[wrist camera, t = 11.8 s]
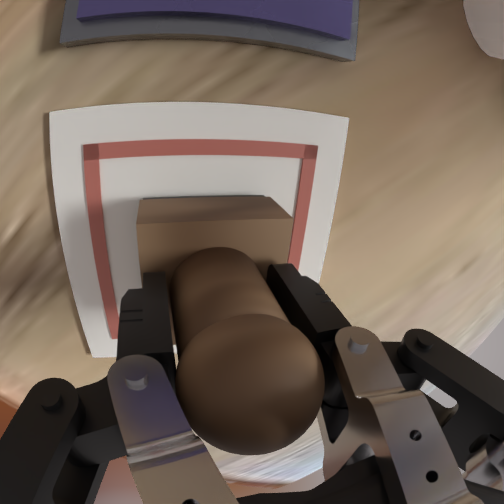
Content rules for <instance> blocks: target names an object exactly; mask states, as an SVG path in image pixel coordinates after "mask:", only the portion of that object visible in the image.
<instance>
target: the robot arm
mask: <svg viewBox="0 0 504 504" xmlns="http://www.w3.org/2000/svg"><path fill="white" fill-rule="evenodd" d="M266 283H267V285H268V286H269V288H270V290H271V291H272V293H273V295H274V296H275V298H276V300H277V301H278V303H279V305H280V307H281V308H282V310H283V312H284V313H285V315H286V317H287V318H288V320H289V322H290V323H291V325H293V326H294V327H296V328H297V329H299V330H300V331H301V332H302V333H303V334H304V335H305V336H306V337H307V338H308V339H309V341H310V342H311V343H312V345H313V346H314V348H315V349H316V351H317V353H318V355H319V358H320V360H321V363H322V367H323V371H324V379H325V390H324V396H323V401H322V404H321V407H320V410H319V412H318V415H317V419H318V423H319V427H320V431H321V436H322V440H323V444H324V459H323V474H324V479H325V482H323V483H322V484H320V485H318V486H317V487H315V488H314V489H312V490H309V491H302V492H288V493H259V494H255V495H250V496H245V497H241V498H235V496H234V495H233V493H232V491H231V490H230V488H229V487H228V485H227V483H226V481H225V480H224V478H223V476H222V475H221V473H220V471H219V469H218V468H217V466H216V464H215V462H214V461H213V459H212V457H211V455H210V453H209V452H208V450H207V448H206V446H205V445H204V443H203V442H202V440H201V439H200V438H199V437H198V436H195V434H194V433H193V431H192V429H191V427H190V425H189V423H188V421H187V419H186V417H185V415H184V413H183V411H182V409H181V407H180V404H179V402H178V400H177V397H176V391H175V377H176V364H175V356H174V348H173V340H172V333H171V324H170V315H169V306H168V296H167V286H166V274H165V271H163V272H146V273H143V288H139V289H128V290H127V292H126V293H125V294H124V296H123V297H122V299H121V304H120V314H119V326H118V340H117V357H116V362H115V363H114V364H113V365H112V366H111V368H110V369H109V372H108V375H107V376H106V377H105V378H103V379H102V380H100V381H98V382H96V383H93V384H90V385H86V386H83V387H80V388H76V389H75V387H74V386H73V385H72V384H71V383H69V382H68V381H66V380H64V379H61V378H48V379H45V380H42V381H40V382H38V383H37V384H35V385H34V386H33V387H32V389H31V390H30V391H29V393H28V394H27V396H26V397H25V399H24V401H23V402H22V404H21V405H20V407H19V409H18V410H17V412H16V414H15V415H14V417H13V419H12V420H11V422H10V424H9V425H8V427H7V429H6V431H5V432H4V434H3V436H2V437H1V439H0V504H93V503H94V501H95V498H96V495H97V493H98V490H99V487H100V484H101V482H102V479H103V476H104V474H105V471H106V469H107V466H108V463H109V461H110V460H113V459H116V458H119V457H122V456H125V455H127V461H128V464H129V468H130V471H131V473H132V476H133V479H134V481H135V484H136V487H137V489H138V492H139V494H140V497H141V499H142V501H143V504H504V380H502V379H501V378H499V377H498V376H496V375H495V374H493V373H492V372H490V371H489V370H488V369H486V368H484V367H483V366H481V365H480V364H478V363H477V362H475V361H474V360H472V359H471V358H469V357H468V356H466V355H465V354H463V353H462V352H460V351H459V350H457V349H455V348H454V347H452V346H451V345H449V344H448V343H446V342H445V341H443V340H442V339H440V338H438V337H437V336H435V335H434V334H432V333H430V332H428V331H426V330H423V329H411V330H409V331H407V332H406V333H405V335H404V337H403V339H402V341H401V342H380V340H379V338H378V337H377V336H376V335H375V334H374V333H372V332H371V331H369V330H367V329H365V328H361V327H356V326H351V324H350V323H349V322H348V321H347V319H346V318H345V317H344V315H343V314H342V313H341V312H340V310H339V309H338V308H337V307H336V305H335V304H334V303H333V302H331V299H330V298H329V297H328V295H327V294H325V292H324V290H323V289H322V288H321V287H320V285H319V284H318V283H317V282H315V281H314V280H312V279H311V278H309V277H307V276H301V274H300V273H299V272H298V270H297V269H296V268H295V267H294V265H293V264H292V263H284V264H271V265H269V267H268V271H267V278H266ZM425 380H428V381H429V382H431V383H432V384H434V385H435V386H437V387H438V388H439V389H441V390H442V391H444V392H445V393H447V394H448V395H450V396H451V397H453V398H454V399H455V400H456V401H457V404H456V405H455V406H454V407H452V408H445V407H443V406H442V405H441V404H439V403H438V402H436V401H435V400H433V399H432V398H431V397H429V396H428V395H426V394H425V393H423V392H422V391H421V390H419V389H420V388H421V386H422V385H423V383H424V382H425ZM459 468H461V469H462V470H464V471H465V472H464V473H463V474H461V472H460V469H459Z"/></svg>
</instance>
